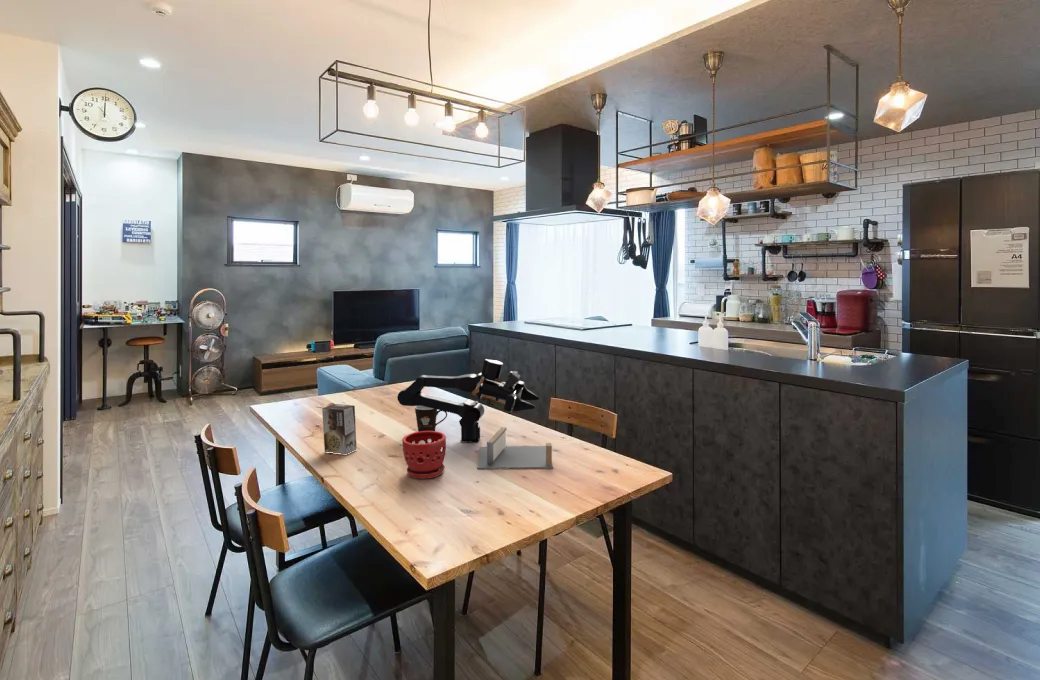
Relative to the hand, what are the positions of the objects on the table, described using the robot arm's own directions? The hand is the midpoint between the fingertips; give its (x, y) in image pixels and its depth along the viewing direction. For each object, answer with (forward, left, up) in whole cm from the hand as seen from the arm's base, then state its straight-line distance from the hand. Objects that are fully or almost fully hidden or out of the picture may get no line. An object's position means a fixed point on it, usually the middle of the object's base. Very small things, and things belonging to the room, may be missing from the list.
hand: (537, 402), depth 199 cm
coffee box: (-68, -7, -15) cm, 70 cm away
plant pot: (-36, -29, -15) cm, 49 cm away
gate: (-14, -15, -14) cm, 25 cm away
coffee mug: (-40, +15, -15) cm, 46 cm away
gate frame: (-8, -15, -15) cm, 23 cm away
